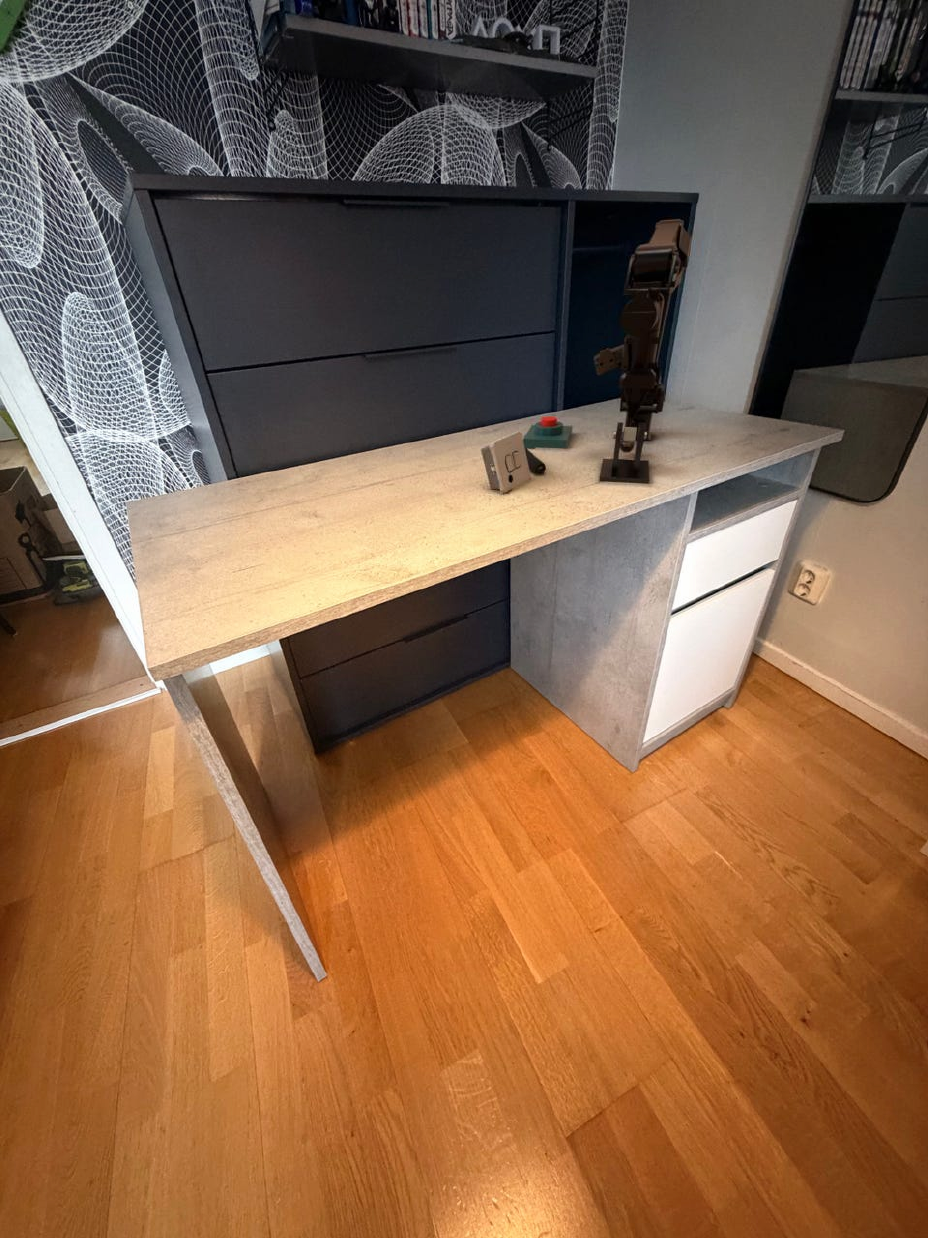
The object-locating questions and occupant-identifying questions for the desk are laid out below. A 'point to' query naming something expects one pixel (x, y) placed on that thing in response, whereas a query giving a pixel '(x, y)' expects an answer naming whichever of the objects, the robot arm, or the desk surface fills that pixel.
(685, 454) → the desk surface
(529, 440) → the button block
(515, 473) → the electrical switch
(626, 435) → the lever
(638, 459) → the bracket
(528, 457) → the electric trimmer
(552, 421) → the button
